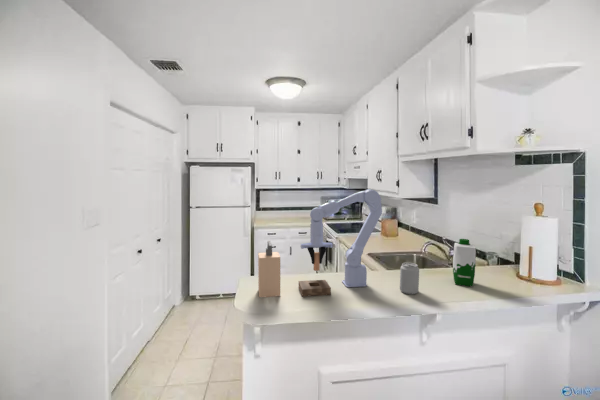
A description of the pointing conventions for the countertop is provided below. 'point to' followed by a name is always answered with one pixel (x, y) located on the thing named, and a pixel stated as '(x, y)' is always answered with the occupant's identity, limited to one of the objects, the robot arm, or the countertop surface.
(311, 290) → the block
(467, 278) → the milk carton
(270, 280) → the soap dispenser
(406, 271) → the can
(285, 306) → the countertop surface
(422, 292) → the countertop surface
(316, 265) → the pin
